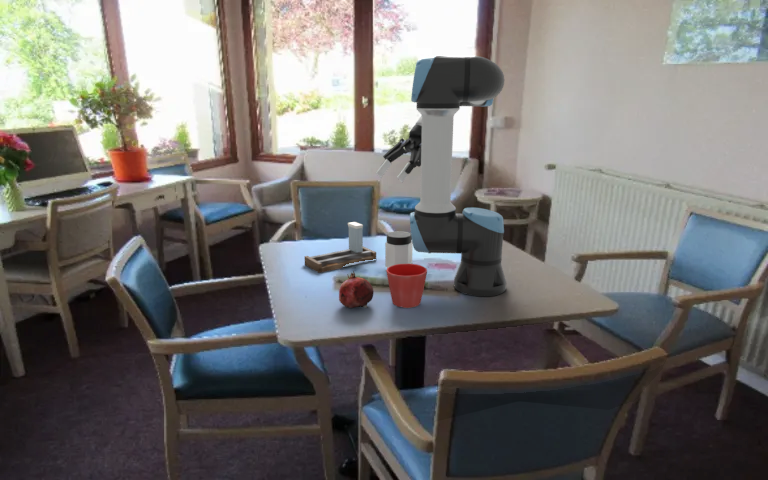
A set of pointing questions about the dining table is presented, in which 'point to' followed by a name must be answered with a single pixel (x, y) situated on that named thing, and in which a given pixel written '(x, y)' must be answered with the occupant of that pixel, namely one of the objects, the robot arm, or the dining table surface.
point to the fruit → (355, 292)
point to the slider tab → (355, 237)
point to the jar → (398, 248)
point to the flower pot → (406, 284)
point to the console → (337, 259)
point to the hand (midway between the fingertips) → (388, 177)
